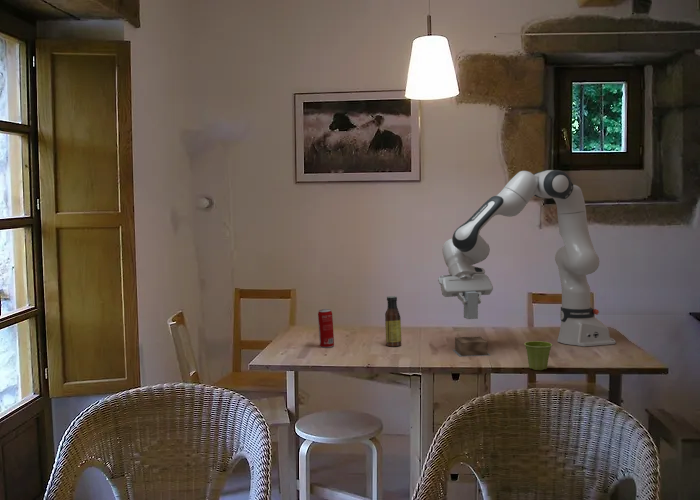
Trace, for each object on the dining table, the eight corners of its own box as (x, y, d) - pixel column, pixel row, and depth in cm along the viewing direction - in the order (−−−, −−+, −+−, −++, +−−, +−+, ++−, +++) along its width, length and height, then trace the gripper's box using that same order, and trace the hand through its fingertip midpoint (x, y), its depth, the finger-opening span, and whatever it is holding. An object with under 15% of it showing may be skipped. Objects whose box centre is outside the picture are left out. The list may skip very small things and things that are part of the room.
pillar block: (473, 316, 282) (473, 291, 281) (477, 318, 278) (478, 292, 277) (463, 317, 281) (463, 291, 280) (468, 319, 277) (468, 292, 276)
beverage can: (336, 345, 298) (335, 309, 297) (329, 348, 292) (328, 311, 291) (323, 344, 301) (322, 308, 299) (316, 347, 295) (315, 310, 293)
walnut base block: (480, 349, 286) (480, 336, 286) (487, 354, 276) (487, 341, 276) (455, 350, 285) (455, 337, 285) (461, 355, 275) (461, 342, 275)
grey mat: (482, 349, 287) (482, 348, 287) (490, 356, 275) (490, 355, 275) (451, 350, 286) (451, 349, 286) (459, 357, 274) (459, 356, 274)
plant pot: (552, 372, 251) (553, 347, 250) (524, 371, 253) (524, 346, 252) (551, 365, 260) (551, 341, 259) (523, 364, 262) (523, 340, 261)
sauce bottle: (404, 345, 297) (404, 296, 295) (394, 347, 292) (394, 298, 291) (392, 343, 301) (391, 295, 300) (382, 345, 297) (381, 296, 295)
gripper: (439, 270, 281) (449, 299, 273) (487, 268, 287) (499, 296, 278) (434, 280, 286) (444, 309, 277) (482, 278, 291) (493, 306, 283)
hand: (472, 303), depth 278 cm, fingers closed on pillar block, 4 cm apart
